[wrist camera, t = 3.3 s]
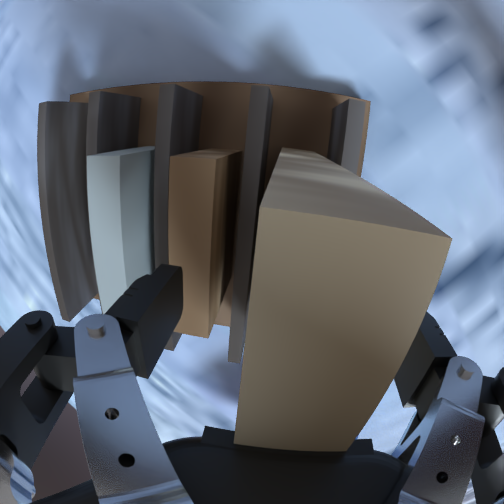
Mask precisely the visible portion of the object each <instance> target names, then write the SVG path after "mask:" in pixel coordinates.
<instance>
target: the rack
mask: <svg viewBox="0 0 504 504" xmlns="http://www.w3.org/2000/svg"><path fill="white" fill-rule="evenodd" d="M370 102H371V101H367V100H363V99H358V98H354V97H349V96H344V95H339V94H334V93H328V92H323V91H317V90H310V89H303V88H296V87H288V86H279V85H269V84H256V83H241V82H167V83H151V84H139V85H130V86H121V87H113V88H106V89H99V90H93V91H87V92H82V93H77V94H72V95H70V102H50V101H47V102H43V103H39V113H38V135H37V162H38V185H39V198H40V209H41V218H42V226H43V233H44V240H45V246H46V252H47V257H48V262H49V267H50V272H51V277H52V281H53V285H54V290H55V294H56V298H57V302H58V305H59V309H60V312H61V316H62V319H63V320H66V321H69V322H70V321H71V320H72V319H73V318H74V317H75V316H76V315H77V314H78V313H79V312H80V311H81V310H82V309H83V308H84V307H85V306H86V305H87V304H88V303H89V302H90V301H91V300H92V299H93V298H95V299H99V300H100V296H99V291H98V285H97V279H96V272H95V266H94V258H93V251H92V242H91V233H90V222H89V209H88V190H87V156H90V155H95V154H100V153H106V152H112V151H118V150H124V149H131V148H138V147H145V146H155V160H154V247H155V269H157V268H158V267H159V265H160V264H169V249H168V199H169V166H170V156H174V155H179V154H184V153H189V152H194V151H199V150H205V149H210V148H214V149H228V150H240V151H242V154H241V165H240V176H239V187H238V199H237V211H236V223H235V235H234V248H233V261H232V274H231V280H230V282H229V285H228V287H227V290H226V293H225V295H224V298H223V301H222V303H221V306H220V308H219V311H218V314H217V316H216V319H215V322H214V324H217V325H223V326H229V327H230V336H229V351H228V362H233V363H240V361H241V357H242V352H243V347H244V343H245V337H246V328H247V319H248V310H249V301H250V292H251V283H252V274H253V265H254V255H255V246H256V237H257V228H258V218H259V209H260V205H261V202H262V199H263V197H264V194H265V191H266V189H267V186H268V184H269V181H270V178H271V176H272V173H273V170H274V168H275V165H276V162H277V160H278V157H279V154H280V152H281V149H282V147H284V148H292V149H299V150H306V151H313V152H316V153H317V154H319V155H321V156H323V157H325V158H327V159H329V160H331V161H332V162H334V163H336V164H338V165H340V166H342V167H343V168H345V169H347V170H349V171H350V172H352V173H354V174H356V175H357V176H359V177H361V172H362V165H363V159H364V152H365V145H366V137H367V129H368V121H369V112H370ZM100 305H101V301H100ZM101 310H102V306H101ZM102 314H103V311H102ZM181 335H182V333H178V332H173V333H172V335H171V337H170V339H169V341H168V342H167V344H166V346H165V348H164V349H167V350H171V351H174V349H175V347H176V345H177V343H178V341H179V339H180V337H181Z"/></svg>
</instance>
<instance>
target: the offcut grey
mask: <svg viewBox="0 0 504 504" xmlns="http://www.w3.org/2000/svg"><path fill="white" fill-rule="evenodd" d="M154 160H155V146H145V147H138V148H131V149H124V150H118V151H112V152H106V153H100V154H95V155H90V156H87V190H88V209H89V222H90V233H91V242H92V251H93V258H94V266H95V272H96V279H97V285H98V291H99V296H100V301H101V306H102V311H103V314H105V313H106V312H107V311H108V309H109V308H110V307H111V306H112V305H113V304H114V303H115V302H116V301H117V299H118V298H119V297H120V296H121V295H123V293H124V292H125V291H126V290H127V289H129V286H130V285H131V284H132V283H133V282H134V281H135V280H136V279H138V278H140V277H142V276H144V275H146V274H149V275H151V274H152V273H153V272H154V271H155V270H156V269H155V247H154Z"/></svg>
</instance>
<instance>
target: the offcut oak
mask: <svg viewBox="0 0 504 504" xmlns="http://www.w3.org/2000/svg"><path fill="white" fill-rule="evenodd" d="M241 154H242V151H240V150H228V149H214V148H210V149H205V150H199V151H194V152H189V153H184V154H179V155H174V156H170V166H169V199H168V249H169V265H175V266H181V267H182V270H183V312H182V315H181V318H180V320H179V322H178V324H177V326H176V328H175V329H174V331H173V332H178V333H183V334H188V335H193V336H198V337H203V338H209V335H210V332H211V330H212V327H213V324H214V322H215V319H216V316H217V314H218V311H219V308H220V306H221V303H222V301H223V298H224V295H225V293H226V290H227V287H228V285H229V282H230V280H231V274H232V261H233V248H234V235H235V223H236V211H237V199H238V187H239V176H240V165H241Z"/></svg>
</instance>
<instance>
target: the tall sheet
mask: <svg viewBox="0 0 504 504" xmlns="http://www.w3.org/2000/svg"><path fill="white" fill-rule="evenodd" d="M451 241H452V238H451V237H449V236H448V235H447V234H445V233H444V232H443V231H441V230H440V229H439V228H437V227H436V226H435V225H433V224H432V223H430V222H429V221H428V220H426V219H425V218H423V217H422V216H420V215H419V214H418V213H416V212H415V211H413V210H412V209H410V208H409V207H407V206H406V205H404V204H403V203H401V202H400V201H398V200H397V199H395V198H393V197H392V196H390V195H389V194H387V193H386V192H384V191H382V190H381V189H379V188H377V187H376V186H374V185H373V184H371V183H369V182H368V181H366V180H364V179H363V178H361V177H359V176H357V175H356V174H354V173H352V172H350V171H349V170H347V169H345V168H343V167H342V166H340V165H338V164H336V163H334V162H332V161H331V160H329V159H327V158H325V157H323V156H321V155H319V154H317V153H316V152H313V151H306V150H299V149H292V148H284V147H282V149H281V152H280V154H279V157H278V160H277V162H276V165H275V168H274V170H273V173H272V176H271V178H270V181H269V184H268V186H267V189H266V191H265V194H264V197H263V199H262V202H261V205H260V209H259V218H258V228H257V237H256V246H255V255H254V265H253V274H252V283H251V292H250V301H249V310H248V319H247V328H246V337H245V346H244V355H243V364H242V373H241V382H240V391H239V400H238V409H237V418H236V427H235V435H234V444H240V445H247V446H255V447H263V448H272V449H284V450H298V451H347V450H348V448H349V447H350V445H351V444H352V443H353V441H354V440H355V439H356V437H357V436H358V434H359V433H360V432H361V430H362V429H363V427H364V426H365V424H366V423H367V421H368V420H369V418H370V417H371V415H372V414H373V412H374V411H375V409H376V407H377V406H378V404H379V403H380V401H381V399H382V398H383V396H384V394H385V393H386V391H387V389H388V388H389V386H390V384H391V382H392V381H393V379H394V377H395V375H396V373H397V372H398V370H399V368H400V366H401V364H402V362H403V360H404V358H405V356H406V354H407V352H408V350H409V348H410V346H411V344H412V342H413V340H414V338H415V336H416V334H417V332H418V330H419V327H420V325H421V323H422V321H423V318H424V316H425V314H426V311H427V309H428V306H429V304H430V302H431V299H432V297H433V294H434V291H435V289H436V286H437V283H438V281H439V278H440V275H441V272H442V269H443V266H444V263H445V260H446V257H447V254H448V251H449V248H450V244H451Z"/></svg>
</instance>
